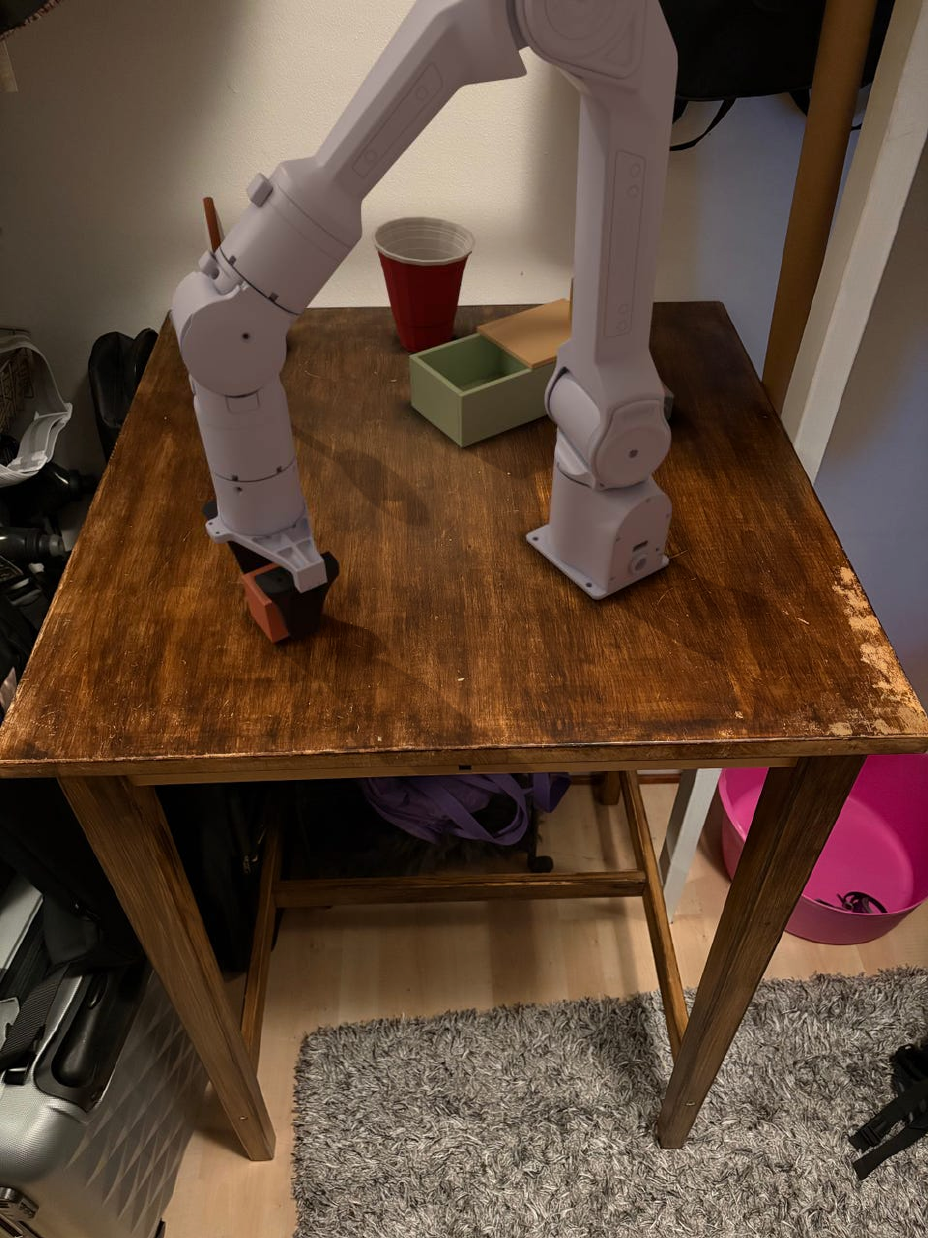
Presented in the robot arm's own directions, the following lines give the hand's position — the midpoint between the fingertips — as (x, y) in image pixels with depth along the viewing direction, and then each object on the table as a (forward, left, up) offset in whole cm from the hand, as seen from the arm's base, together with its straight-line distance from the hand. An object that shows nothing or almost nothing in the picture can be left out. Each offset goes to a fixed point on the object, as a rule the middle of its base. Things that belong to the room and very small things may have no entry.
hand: (282, 604), depth 70 cm
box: (+16, -30, -1) cm, 34 cm away
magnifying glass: (+31, -11, -2) cm, 33 cm away
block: (0, 0, -1) cm, 1 cm away
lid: (+16, -38, +4) cm, 42 cm away
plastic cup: (+31, -33, -2) cm, 45 cm away
